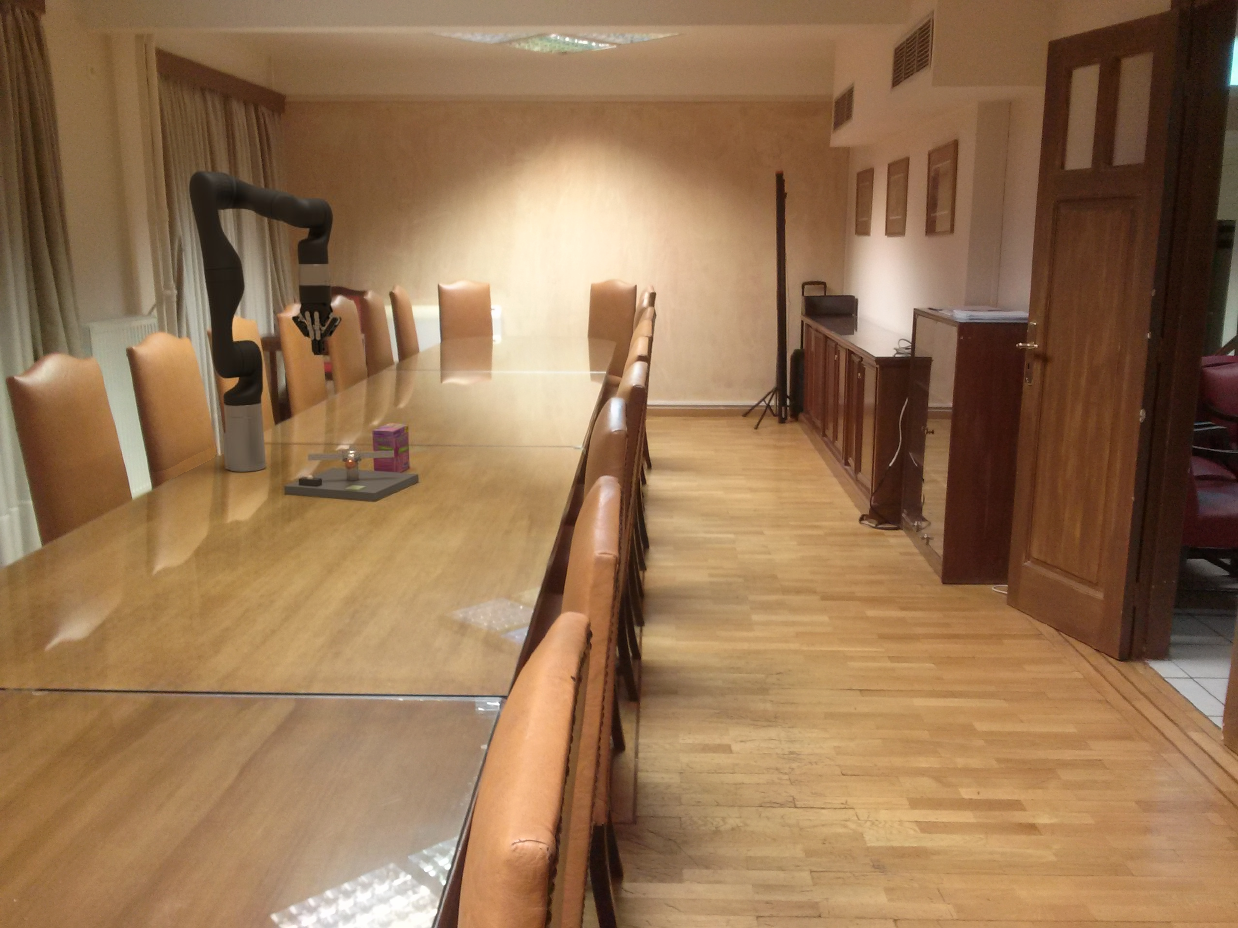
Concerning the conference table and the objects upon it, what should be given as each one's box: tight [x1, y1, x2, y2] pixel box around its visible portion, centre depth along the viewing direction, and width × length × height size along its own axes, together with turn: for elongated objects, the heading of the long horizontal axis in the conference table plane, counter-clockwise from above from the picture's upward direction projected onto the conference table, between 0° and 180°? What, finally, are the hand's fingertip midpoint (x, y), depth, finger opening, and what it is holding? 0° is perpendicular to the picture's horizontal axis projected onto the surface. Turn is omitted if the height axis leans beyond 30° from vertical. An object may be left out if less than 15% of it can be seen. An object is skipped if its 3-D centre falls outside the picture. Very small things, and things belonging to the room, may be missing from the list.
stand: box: [284, 461, 420, 502], centre depth 260 cm, size 24×21×6 cm
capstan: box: [307, 444, 394, 470], centre depth 258 cm, size 22×20×2 cm
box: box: [372, 422, 411, 473], centre depth 277 cm, size 10×6×12 cm, turn 168°
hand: (318, 354), depth 264 cm, fingers closed
